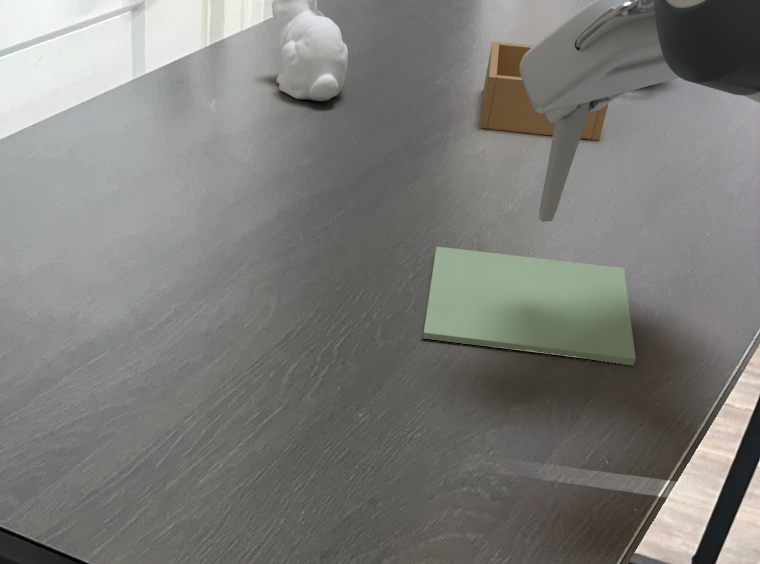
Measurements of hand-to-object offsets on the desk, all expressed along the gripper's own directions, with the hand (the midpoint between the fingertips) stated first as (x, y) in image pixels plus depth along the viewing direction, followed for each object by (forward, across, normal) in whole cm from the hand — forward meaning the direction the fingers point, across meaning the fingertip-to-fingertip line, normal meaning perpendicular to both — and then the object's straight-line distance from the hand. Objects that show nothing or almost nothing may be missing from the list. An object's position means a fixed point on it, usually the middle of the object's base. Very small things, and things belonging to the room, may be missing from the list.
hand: (568, 107), depth 79 cm
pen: (+5, 0, -6) cm, 8 cm away
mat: (+10, 0, -11) cm, 15 cm away
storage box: (+31, +36, +11) cm, 49 cm away
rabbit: (+46, +19, +25) cm, 56 cm away
